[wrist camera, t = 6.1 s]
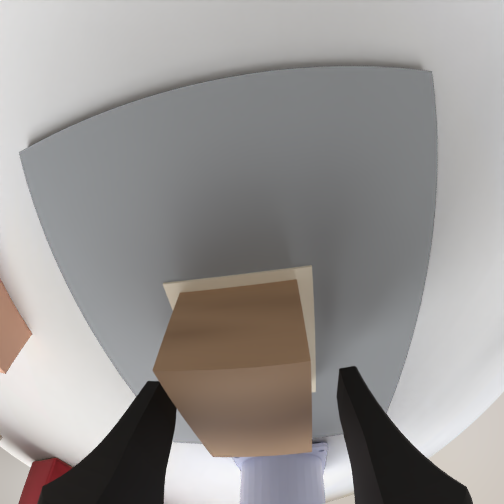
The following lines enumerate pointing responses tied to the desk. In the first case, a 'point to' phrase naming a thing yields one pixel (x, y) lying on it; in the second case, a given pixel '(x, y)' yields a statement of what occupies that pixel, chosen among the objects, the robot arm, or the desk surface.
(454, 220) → the desk surface
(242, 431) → the walnut block
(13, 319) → the terracotta block
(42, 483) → the storage cube
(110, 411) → the desk surface
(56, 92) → the desk surface
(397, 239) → the board
